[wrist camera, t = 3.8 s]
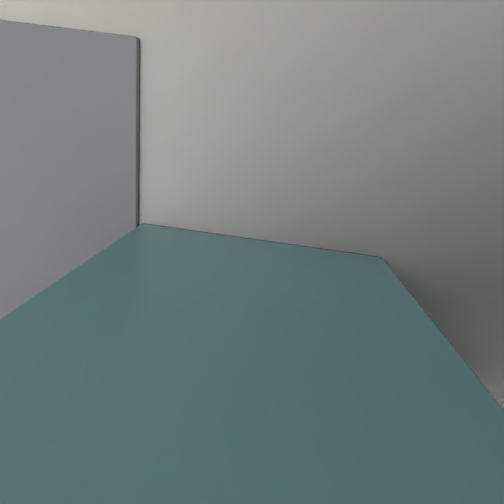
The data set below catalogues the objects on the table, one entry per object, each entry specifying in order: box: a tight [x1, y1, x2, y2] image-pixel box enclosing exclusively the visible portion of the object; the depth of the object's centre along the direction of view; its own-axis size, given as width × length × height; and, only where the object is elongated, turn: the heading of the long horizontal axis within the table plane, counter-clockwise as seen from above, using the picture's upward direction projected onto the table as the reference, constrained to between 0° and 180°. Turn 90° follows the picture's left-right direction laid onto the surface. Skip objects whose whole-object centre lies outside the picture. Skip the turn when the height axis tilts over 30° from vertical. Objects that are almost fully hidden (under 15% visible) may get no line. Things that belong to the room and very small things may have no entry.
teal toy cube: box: [0, 224, 504, 504], centre depth 8 cm, size 8×8×9 cm
